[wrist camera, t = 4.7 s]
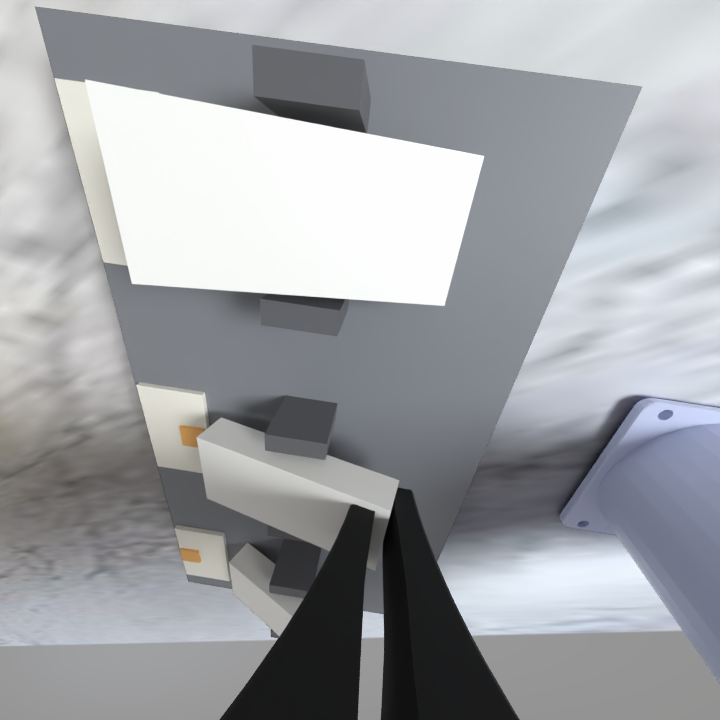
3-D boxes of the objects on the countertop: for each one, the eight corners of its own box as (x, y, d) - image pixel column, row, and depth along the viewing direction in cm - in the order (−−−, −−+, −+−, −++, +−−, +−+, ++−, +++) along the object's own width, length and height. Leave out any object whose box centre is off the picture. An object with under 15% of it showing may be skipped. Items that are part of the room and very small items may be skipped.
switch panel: (588, 112, 8) (747, 36, 5) (410, 582, 20) (415, 668, 16) (107, 47, 9) (-104, -73, 5) (205, 548, 20) (164, 625, 17)
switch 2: (359, 630, 13) (345, 661, 12) (351, 660, 15) (338, 689, 14) (247, 542, 16) (228, 562, 15) (250, 574, 18) (233, 594, 17)
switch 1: (457, 161, 7) (484, 156, 6) (427, 292, 9) (444, 305, 8) (123, 99, 6) (84, 79, 5) (155, 270, 7) (131, 284, 6)
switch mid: (399, 480, 10) (391, 510, 9) (383, 538, 11) (375, 571, 10) (220, 417, 11) (196, 436, 10) (227, 476, 13) (207, 498, 12)
